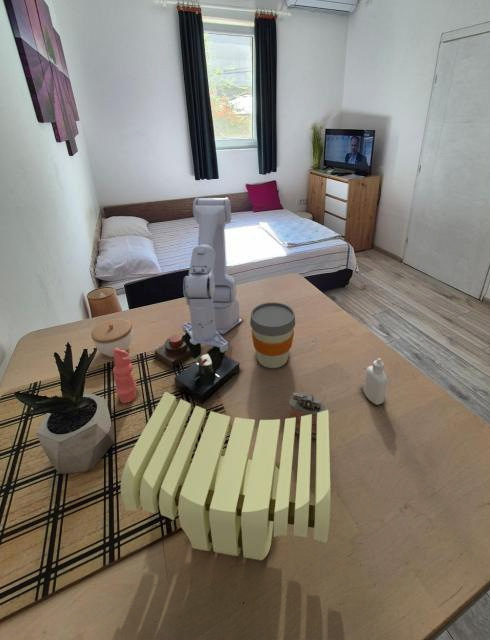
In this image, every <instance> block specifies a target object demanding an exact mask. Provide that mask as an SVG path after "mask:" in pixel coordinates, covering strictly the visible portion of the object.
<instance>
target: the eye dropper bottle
mask: <svg viewBox="0 0 490 640" xmlns="http://www.w3.org/2000/svg"><path fill="white" fill-rule="evenodd" d="M384 366H385V364H384V362H383V361H382V358H381V357H378V358H377V359H375V360H374V361H373V363H372V365H369V366H367V367H366V370H365V377H364V383H363V388H362V389H363V394H364V395H365V397H366V398H367V399H368V400H369V401H370V402H371V403H372V404H374V405H376V406H378V405H381V404H384V402H385V396H386V392H387V385H388V378H387V375H386V374H385V372H384Z"/></svg>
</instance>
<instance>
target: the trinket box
mask: <svg viewBox="0 0 490 640" xmlns="http://www.w3.org/2000/svg"><path fill="white" fill-rule="evenodd" d="M133 333H134V332H133V325H132V322H131V321H130V320H129V319H126V318H112V319H108V320H105V321H103V322H100V323H99V324H97V325H96V326H95V327H94V328H93V329H92V331H91V333H90V335H91V339H92V341H93V344H94V347H95V349H96V350H97V351H98V352H99V353H101V354H102V355H104V356H107V357H109V358H110V357H111V358H114V349H115V348H118V349H119V350H123V351H126V352H127V351H128V349H129V348H130V346H131V344H132V342H133V336H134V335H133Z"/></svg>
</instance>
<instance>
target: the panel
mask: <svg viewBox="0 0 490 640" xmlns="http://www.w3.org/2000/svg"><path fill="white" fill-rule="evenodd" d="M240 371H241V370H240V362H239V361H236V360H235V359H233V358H231V357H229V356H227V355H225V354H224V357H223V360H222V364H221V367H220V368H219V369H218V370H217V371H215V373H214V374H212V375H209V376H203V375H201V374H200V372H199V364H198V360H196V361H195V362H194V363H192V364H191V365H190V366H188V367H187V368H186V369H184V370H183V371H181V372H180V373H179V374H177V375H176V376H175V377H173V379H174V385H175V387H176V389H178V390H179V391H181V392H183V393H184V394H185V395H187V396H189V397H190V398H192V399H193V400H194V401H196V402H198V403H199V404H200V405H202V406H203V405H204V404H205V403H206V402H207V401H208V400H209V399H211V398H212V397H213V396H214V395H215V394H216V393H217V392H219V390H221V389H222V388H223V387H224V386H225V385H226V384H228V383H229V382H230V381H231V380H232V379H233V378H234V377H235V376H236V375H237V374H239V373H240Z"/></svg>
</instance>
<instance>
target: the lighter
mask: <svg viewBox="0 0 490 640" xmlns="http://www.w3.org/2000/svg"><path fill="white" fill-rule="evenodd" d="M288 405H289V418H295V417H296V424H295V434H298V435H300V425H301V416H305V415H310V414H312V423H311V439H316V433H317V413H318V412H322V411H325V410H327V407H326V406H325V404H323V403H322V400H321V399H320V398H317V397H314V395H313V394H311V393H308V394H303V393H299V392H293V393H292V397H291V398H289V401H288Z"/></svg>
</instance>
